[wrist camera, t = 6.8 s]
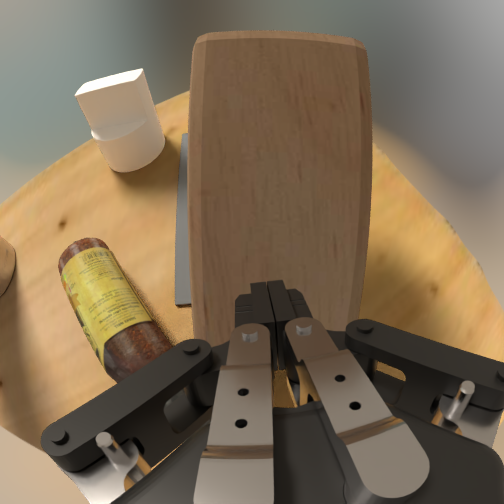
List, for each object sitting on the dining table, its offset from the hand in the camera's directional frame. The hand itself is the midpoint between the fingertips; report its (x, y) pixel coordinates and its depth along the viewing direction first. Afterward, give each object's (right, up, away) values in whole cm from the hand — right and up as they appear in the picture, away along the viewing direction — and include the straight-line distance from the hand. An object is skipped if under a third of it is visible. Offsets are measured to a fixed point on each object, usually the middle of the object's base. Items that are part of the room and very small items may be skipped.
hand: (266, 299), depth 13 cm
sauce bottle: (-18, +2, +13) cm, 22 cm away
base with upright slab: (-17, +17, +24) cm, 34 cm away
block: (+1, -4, +8) cm, 9 cm away
